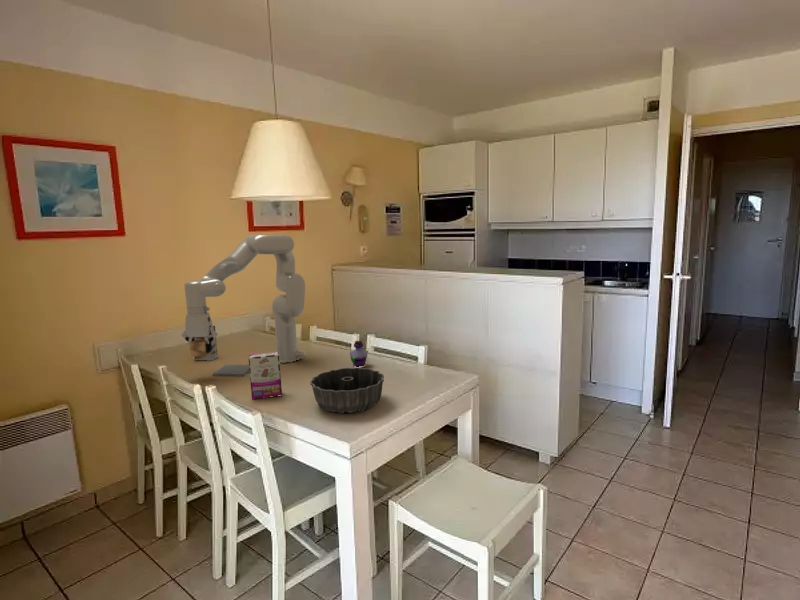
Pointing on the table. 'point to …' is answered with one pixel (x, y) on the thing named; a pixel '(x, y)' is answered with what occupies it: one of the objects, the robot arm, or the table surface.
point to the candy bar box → (265, 375)
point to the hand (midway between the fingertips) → (201, 351)
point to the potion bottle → (358, 354)
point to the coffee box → (214, 350)
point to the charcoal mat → (232, 370)
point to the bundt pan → (347, 389)
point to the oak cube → (198, 348)
